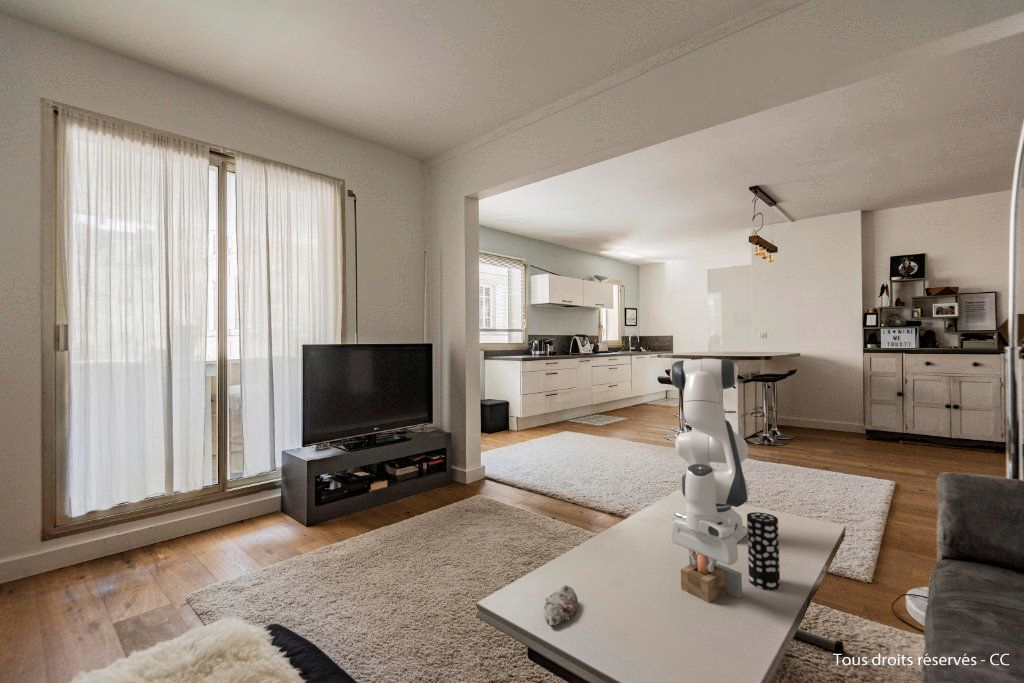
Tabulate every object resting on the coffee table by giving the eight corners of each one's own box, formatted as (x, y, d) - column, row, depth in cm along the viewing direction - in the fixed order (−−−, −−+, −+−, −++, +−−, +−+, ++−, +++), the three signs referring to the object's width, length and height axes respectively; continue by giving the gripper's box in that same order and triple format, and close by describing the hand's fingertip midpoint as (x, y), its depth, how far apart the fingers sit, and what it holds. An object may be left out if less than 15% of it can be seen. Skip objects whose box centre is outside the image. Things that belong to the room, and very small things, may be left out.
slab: (693, 573, 146) (693, 553, 146) (742, 595, 133) (741, 573, 133) (689, 575, 145) (689, 554, 145) (738, 597, 132) (737, 575, 132)
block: (699, 580, 142) (699, 560, 142) (726, 592, 135) (726, 572, 135) (681, 589, 137) (680, 568, 137) (708, 602, 130) (707, 581, 130)
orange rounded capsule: (696, 581, 136) (694, 547, 137) (702, 578, 138) (701, 545, 138) (705, 585, 134) (703, 551, 134) (711, 582, 136) (710, 548, 136)
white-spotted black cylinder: (754, 573, 145) (752, 510, 146) (783, 582, 139) (781, 516, 140) (744, 583, 140) (742, 517, 140) (775, 593, 134) (773, 524, 134)
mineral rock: (557, 632, 118) (557, 615, 118) (534, 620, 124) (533, 604, 124) (589, 607, 129) (588, 591, 129) (565, 597, 135) (565, 582, 135)
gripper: (665, 513, 143) (667, 558, 143) (727, 534, 126) (729, 585, 126) (678, 509, 147) (679, 552, 147) (740, 529, 130) (741, 578, 129)
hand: (703, 568), depth 136 cm, fingers closed on orange rounded capsule, 3 cm apart
